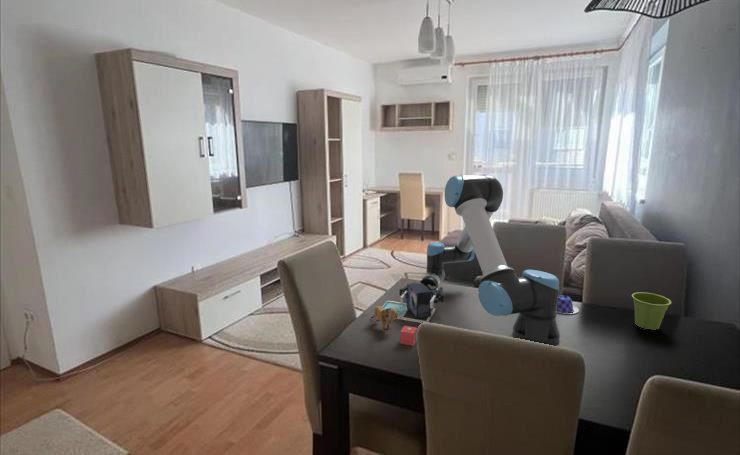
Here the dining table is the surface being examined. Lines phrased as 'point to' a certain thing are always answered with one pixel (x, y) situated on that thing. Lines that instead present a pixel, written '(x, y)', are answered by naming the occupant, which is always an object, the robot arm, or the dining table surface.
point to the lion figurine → (385, 316)
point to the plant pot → (649, 309)
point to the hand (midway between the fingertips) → (416, 302)
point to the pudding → (565, 305)
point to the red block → (408, 335)
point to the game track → (403, 310)
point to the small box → (418, 300)
